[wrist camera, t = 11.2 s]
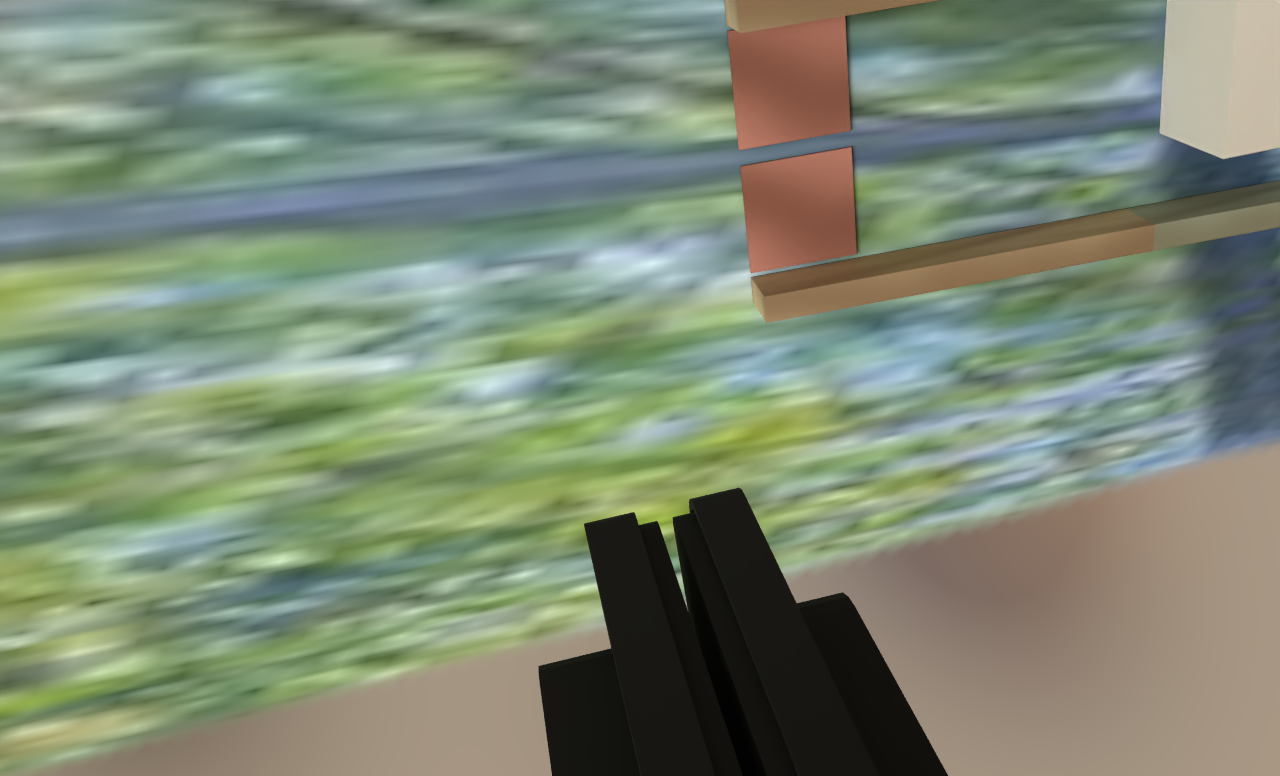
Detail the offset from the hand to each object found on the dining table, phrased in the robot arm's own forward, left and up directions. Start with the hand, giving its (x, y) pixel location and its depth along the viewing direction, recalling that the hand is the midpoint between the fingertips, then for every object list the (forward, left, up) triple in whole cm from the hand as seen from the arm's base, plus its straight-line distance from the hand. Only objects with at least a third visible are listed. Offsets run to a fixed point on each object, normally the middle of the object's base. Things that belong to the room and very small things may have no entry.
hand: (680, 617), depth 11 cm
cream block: (+2, +25, -28) cm, 38 cm away
